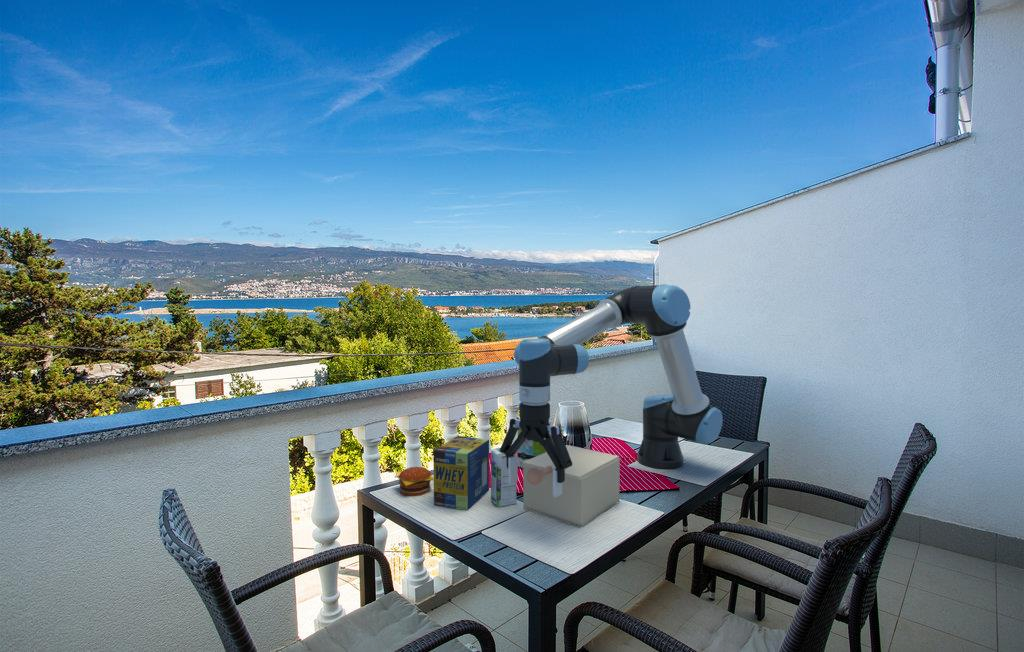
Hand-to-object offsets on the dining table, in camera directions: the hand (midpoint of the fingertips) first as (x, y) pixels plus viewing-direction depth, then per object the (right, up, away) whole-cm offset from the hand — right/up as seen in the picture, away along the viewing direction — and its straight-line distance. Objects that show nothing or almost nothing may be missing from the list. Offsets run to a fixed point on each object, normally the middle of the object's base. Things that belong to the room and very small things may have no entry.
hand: (534, 488), depth 120 cm
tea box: (+5, -8, +44) cm, 45 cm away
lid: (+8, +2, +10) cm, 13 cm away
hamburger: (-34, -9, +25) cm, 43 cm away
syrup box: (-8, -9, +16) cm, 20 cm away
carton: (+11, -9, +14) cm, 20 cm away
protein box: (-20, -9, +19) cm, 29 cm away
